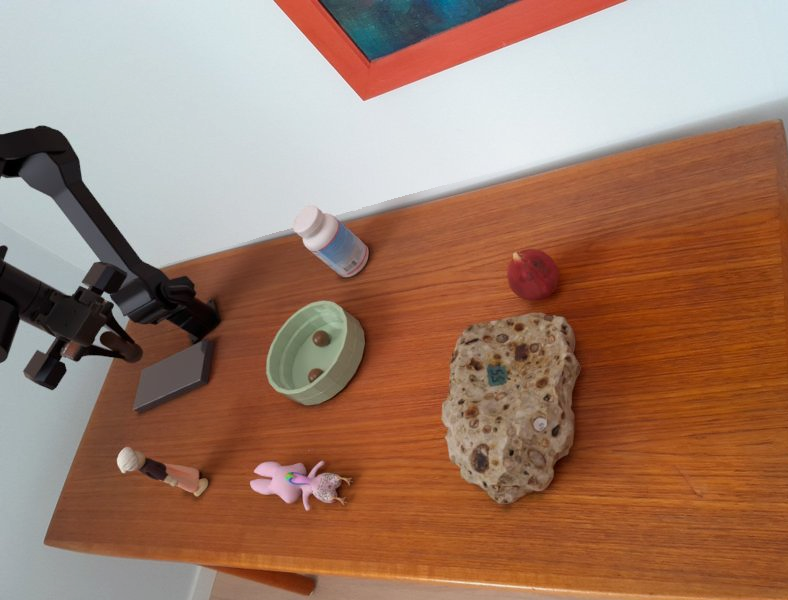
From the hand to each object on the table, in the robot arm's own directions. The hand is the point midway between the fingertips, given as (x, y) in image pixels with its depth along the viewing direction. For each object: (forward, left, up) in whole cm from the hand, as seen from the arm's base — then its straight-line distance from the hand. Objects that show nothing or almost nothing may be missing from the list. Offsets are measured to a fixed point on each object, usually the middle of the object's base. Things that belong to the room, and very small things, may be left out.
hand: (128, 350), depth 98 cm
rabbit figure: (+32, +14, -13) cm, 37 cm away
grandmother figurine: (+18, -4, -13) cm, 22 cm away
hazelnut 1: (+14, +24, -11) cm, 30 cm away
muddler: (-5, -3, -4) cm, 7 cm away
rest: (-5, -4, -13) cm, 14 cm away
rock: (+44, +42, -13) cm, 63 cm away
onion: (+32, +52, -13) cm, 63 cm away
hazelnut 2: (+19, +21, -11) cm, 31 cm away
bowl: (+16, +23, -13) cm, 31 cm away
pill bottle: (+3, +33, -13) cm, 36 cm away
